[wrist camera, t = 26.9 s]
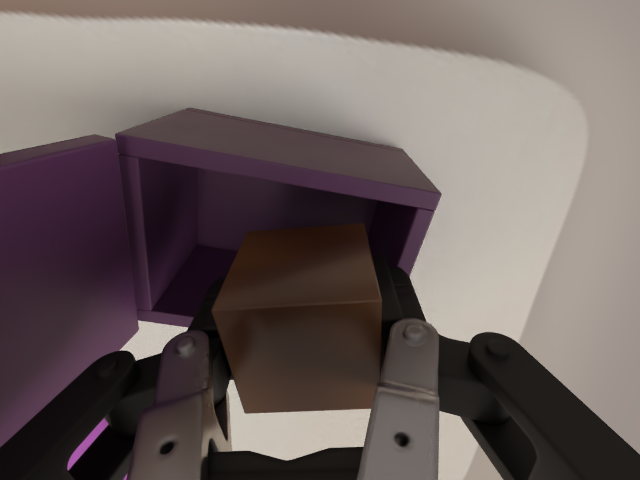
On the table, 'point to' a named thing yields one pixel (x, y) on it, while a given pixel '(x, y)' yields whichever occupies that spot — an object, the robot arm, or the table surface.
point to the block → (302, 320)
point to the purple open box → (252, 199)
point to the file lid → (60, 270)
